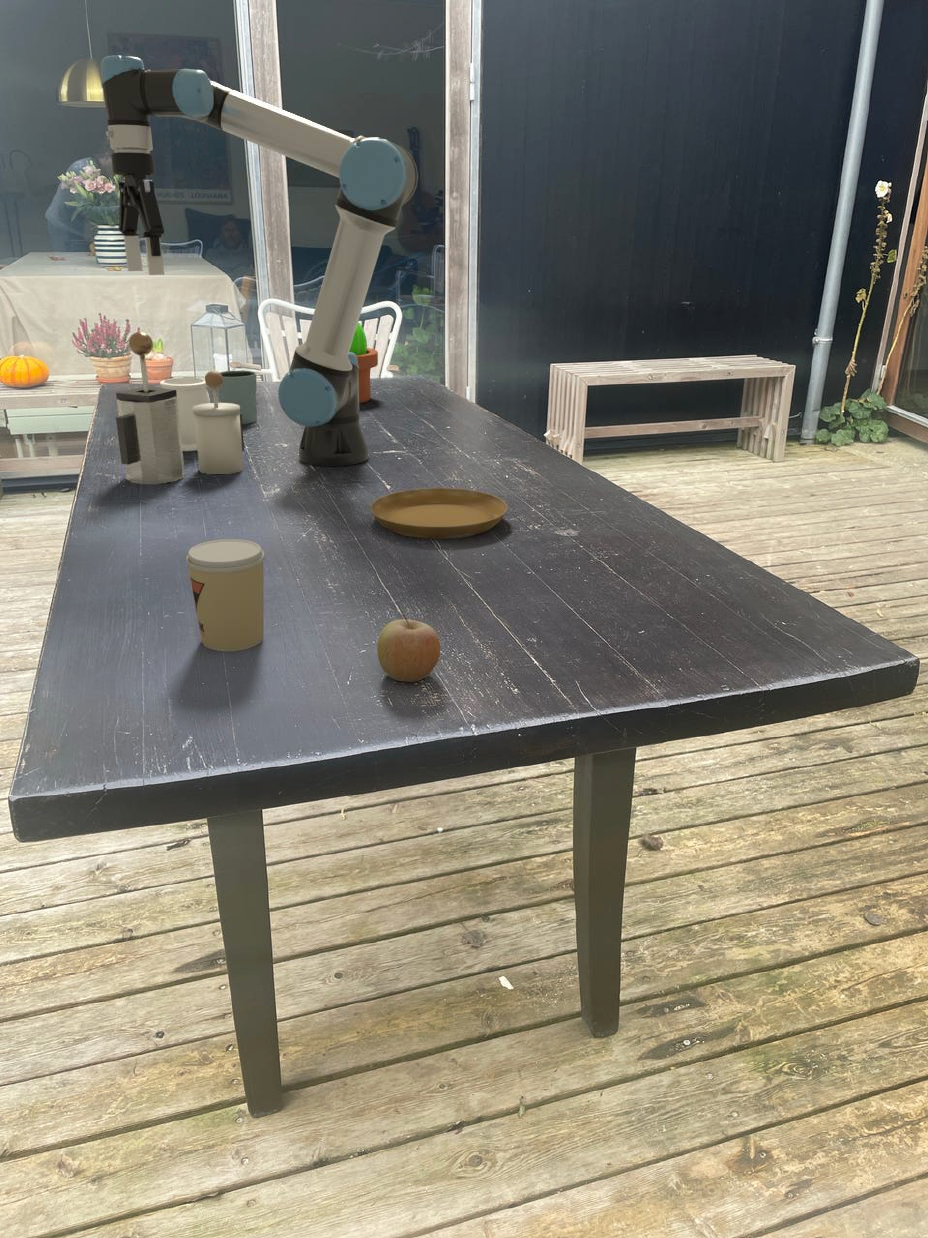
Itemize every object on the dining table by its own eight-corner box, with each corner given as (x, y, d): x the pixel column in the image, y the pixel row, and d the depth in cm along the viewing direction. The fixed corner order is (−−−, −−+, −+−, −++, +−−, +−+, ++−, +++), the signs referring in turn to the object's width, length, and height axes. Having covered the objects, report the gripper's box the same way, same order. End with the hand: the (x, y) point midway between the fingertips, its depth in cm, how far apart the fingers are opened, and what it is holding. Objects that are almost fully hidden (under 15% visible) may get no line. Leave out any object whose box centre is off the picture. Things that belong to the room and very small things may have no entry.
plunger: (181, 438, 192) (170, 331, 184) (154, 447, 186) (142, 335, 177) (149, 434, 195) (137, 328, 187) (122, 442, 189) (108, 332, 180)
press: (195, 473, 196) (187, 389, 189) (150, 490, 184) (139, 400, 178) (152, 467, 200) (142, 384, 193) (105, 483, 188) (93, 395, 182)
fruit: (365, 683, 111) (364, 620, 108) (392, 658, 117) (391, 598, 114) (426, 695, 109) (426, 631, 105) (449, 669, 115) (450, 608, 112)
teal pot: (267, 420, 247) (264, 372, 242) (239, 426, 239) (235, 377, 234) (239, 415, 252) (235, 368, 247) (210, 421, 244) (206, 373, 239)
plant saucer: (346, 533, 163) (345, 515, 162) (405, 498, 184) (405, 481, 182) (478, 553, 155) (478, 533, 154) (524, 513, 175) (525, 496, 174)
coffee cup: (201, 625, 126) (192, 538, 121) (273, 623, 126) (267, 537, 122) (188, 655, 117) (179, 563, 112) (265, 653, 118) (259, 562, 113)
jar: (201, 454, 212) (195, 385, 206) (158, 451, 213) (151, 383, 208) (222, 444, 221) (216, 378, 215) (180, 441, 223) (174, 376, 217)
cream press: (260, 464, 204) (253, 367, 196) (226, 477, 194) (218, 375, 186) (224, 459, 208) (216, 364, 200) (189, 471, 198) (179, 371, 190)
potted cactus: (303, 393, 284) (299, 305, 274) (377, 392, 286) (375, 305, 276) (300, 407, 264) (295, 312, 254) (379, 406, 266) (377, 313, 256)
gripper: (93, 153, 186) (108, 269, 194) (131, 148, 167) (146, 276, 175) (132, 155, 190) (145, 268, 198) (173, 150, 171) (186, 275, 179)
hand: (145, 272), depth 187 cm, fingers open, 13 cm apart
